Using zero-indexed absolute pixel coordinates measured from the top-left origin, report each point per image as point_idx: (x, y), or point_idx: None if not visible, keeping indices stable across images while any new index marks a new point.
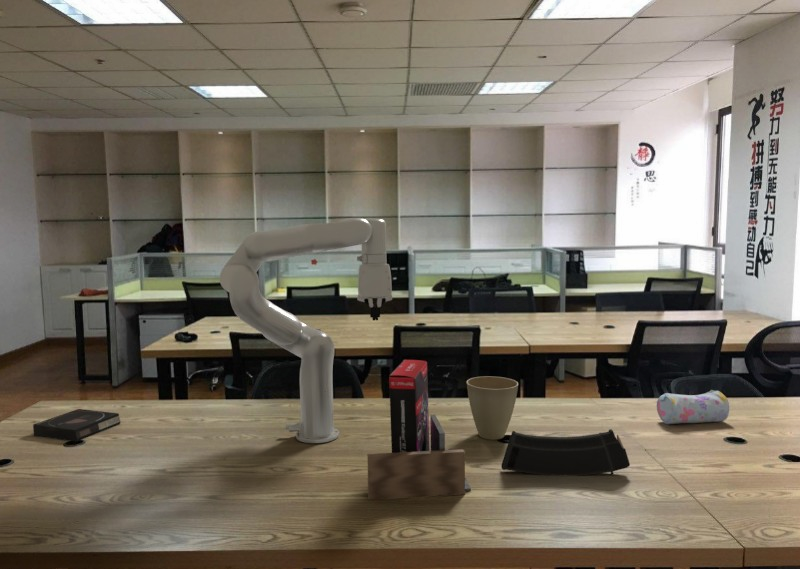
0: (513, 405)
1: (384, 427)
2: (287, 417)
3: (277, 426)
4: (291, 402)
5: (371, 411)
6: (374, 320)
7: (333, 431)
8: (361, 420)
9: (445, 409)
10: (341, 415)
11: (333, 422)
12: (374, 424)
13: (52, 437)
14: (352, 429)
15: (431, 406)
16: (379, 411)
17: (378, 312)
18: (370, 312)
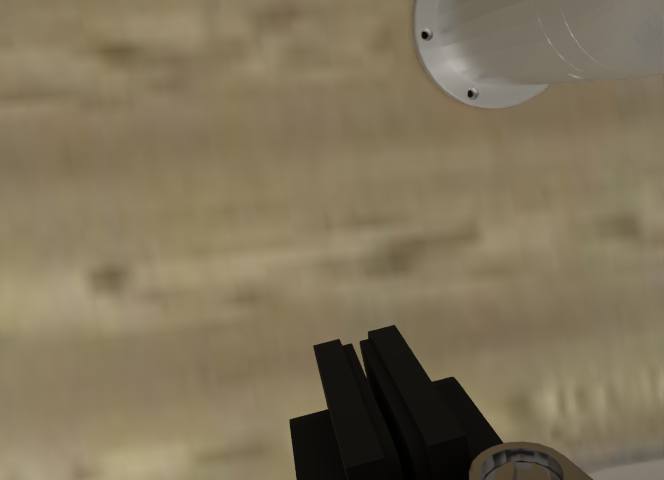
0: None
1: (244, 154)
2: (641, 240)
3: (660, 131)
4: (654, 416)
5: None
6: (369, 340)
7: (438, 24)
8: (353, 233)
9: (18, 414)
10: (443, 286)
11: (450, 26)
12: (292, 189)
13: None
14: (371, 119)
15: (88, 445)
16: (299, 353)
17: (325, 450)
18: (478, 414)
